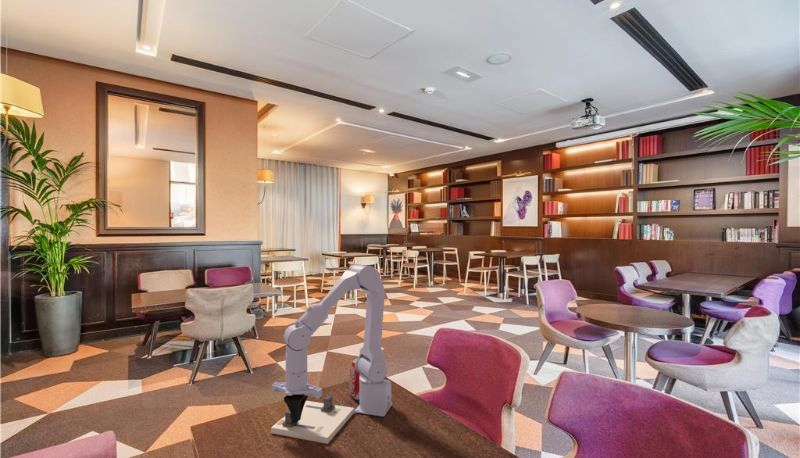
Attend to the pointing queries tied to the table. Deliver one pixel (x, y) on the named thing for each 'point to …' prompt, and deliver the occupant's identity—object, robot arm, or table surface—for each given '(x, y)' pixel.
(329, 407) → the block
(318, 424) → the breaker panel
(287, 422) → the breaker
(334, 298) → the robot arm
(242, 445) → the table surface
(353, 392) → the soda can
